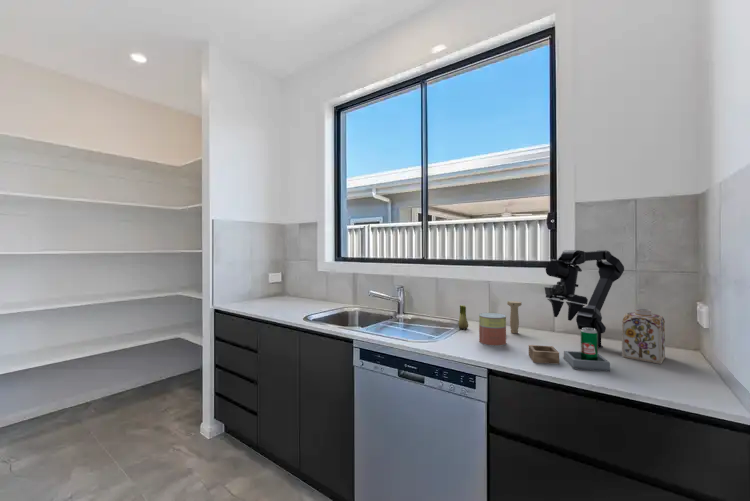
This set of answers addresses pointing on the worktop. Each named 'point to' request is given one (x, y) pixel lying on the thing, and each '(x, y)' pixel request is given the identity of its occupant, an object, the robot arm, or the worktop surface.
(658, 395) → the worktop surface
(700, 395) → the worktop surface
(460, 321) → the fennel bulb
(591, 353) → the soda can
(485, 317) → the canned food
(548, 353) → the wooden box
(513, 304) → the handle
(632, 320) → the decorative jar
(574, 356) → the tray
